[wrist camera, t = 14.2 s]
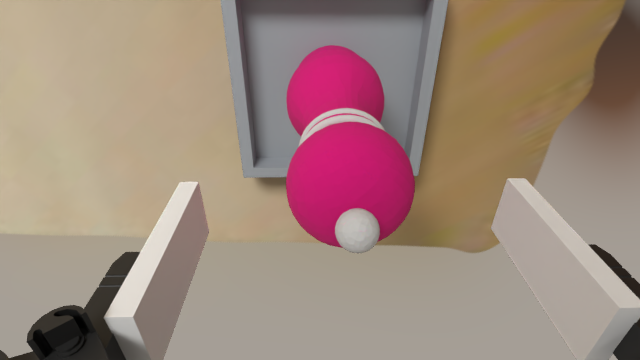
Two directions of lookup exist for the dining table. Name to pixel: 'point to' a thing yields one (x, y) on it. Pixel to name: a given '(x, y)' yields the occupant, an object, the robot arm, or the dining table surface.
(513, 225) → the robot arm
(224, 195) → the dining table surface
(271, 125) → the tray
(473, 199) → the dining table surface
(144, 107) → the dining table surface
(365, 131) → the pepper mill
